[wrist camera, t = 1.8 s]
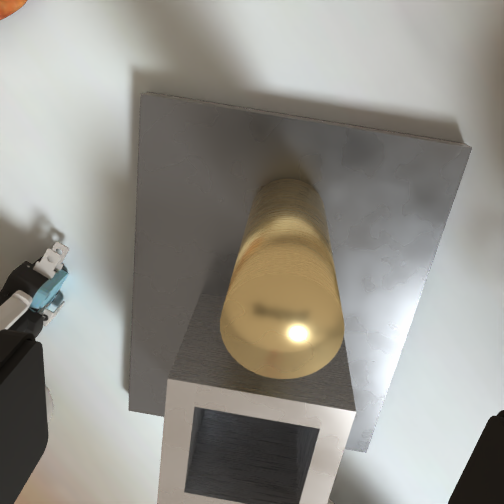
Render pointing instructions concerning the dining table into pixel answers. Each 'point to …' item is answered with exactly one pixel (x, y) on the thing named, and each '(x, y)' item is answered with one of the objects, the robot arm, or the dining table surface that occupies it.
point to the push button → (33, 293)
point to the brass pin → (284, 286)
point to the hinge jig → (219, 276)
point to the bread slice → (10, 7)
